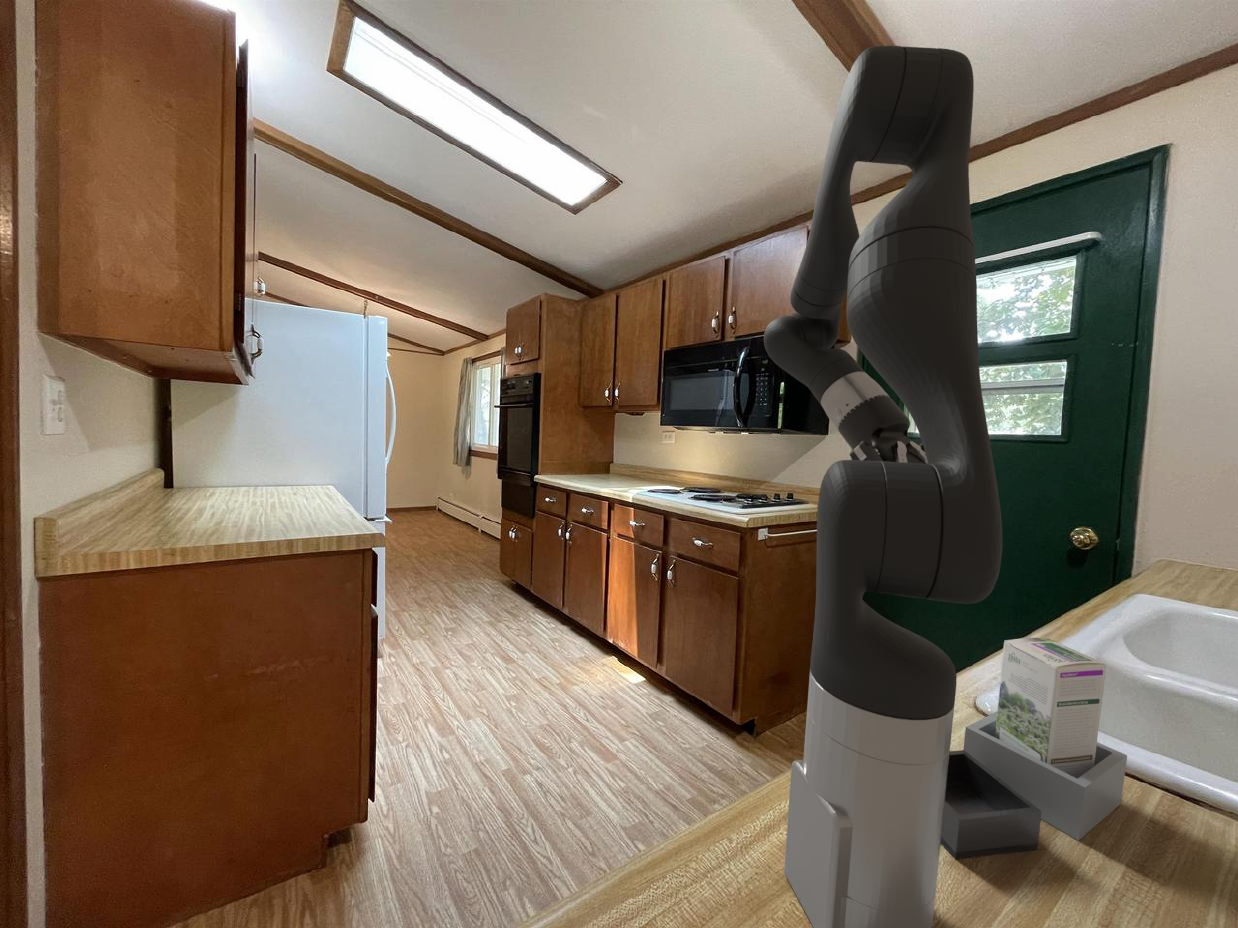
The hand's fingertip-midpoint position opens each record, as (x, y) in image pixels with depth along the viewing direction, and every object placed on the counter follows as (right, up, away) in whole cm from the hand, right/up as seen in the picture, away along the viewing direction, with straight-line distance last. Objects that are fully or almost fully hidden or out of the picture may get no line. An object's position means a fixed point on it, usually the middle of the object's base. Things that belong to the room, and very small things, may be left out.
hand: (943, 513), depth 58 cm
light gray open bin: (+5, -27, -8) cm, 28 cm away
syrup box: (+5, -27, -8) cm, 29 cm away
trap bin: (-6, -27, -12) cm, 30 cm away
